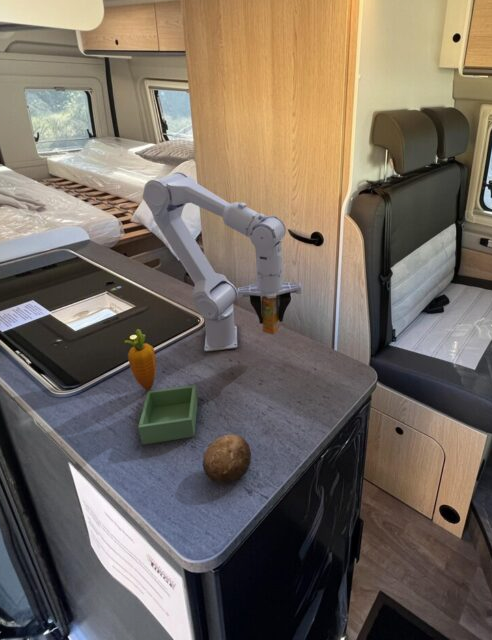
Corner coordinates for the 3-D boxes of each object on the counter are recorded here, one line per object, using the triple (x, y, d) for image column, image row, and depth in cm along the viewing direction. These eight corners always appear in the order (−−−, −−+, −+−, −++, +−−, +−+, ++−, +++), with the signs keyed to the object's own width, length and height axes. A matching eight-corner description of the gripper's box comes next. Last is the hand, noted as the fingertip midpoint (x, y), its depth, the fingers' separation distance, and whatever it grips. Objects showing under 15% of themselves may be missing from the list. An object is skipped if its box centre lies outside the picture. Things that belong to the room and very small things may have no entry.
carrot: (151, 400, 82) (140, 342, 76) (130, 396, 83) (117, 338, 76) (165, 384, 86) (155, 328, 80) (145, 380, 87) (134, 324, 81)
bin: (150, 407, 80) (147, 391, 78) (197, 401, 82) (195, 384, 80) (142, 445, 72) (137, 427, 70) (194, 436, 74) (191, 419, 72)
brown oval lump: (226, 425, 73) (223, 422, 67) (261, 451, 72) (260, 450, 66) (197, 466, 69) (190, 466, 64) (232, 494, 68) (229, 496, 62)
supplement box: (261, 332, 94) (260, 297, 90) (268, 325, 97) (267, 290, 93) (273, 335, 93) (272, 300, 89) (280, 328, 96) (279, 293, 92)
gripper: (236, 280, 83) (240, 333, 88) (303, 276, 86) (303, 326, 92) (236, 266, 89) (239, 316, 95) (298, 262, 92) (298, 310, 98)
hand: (270, 320), depth 94 cm, fingers closed on supplement box, 4 cm apart
